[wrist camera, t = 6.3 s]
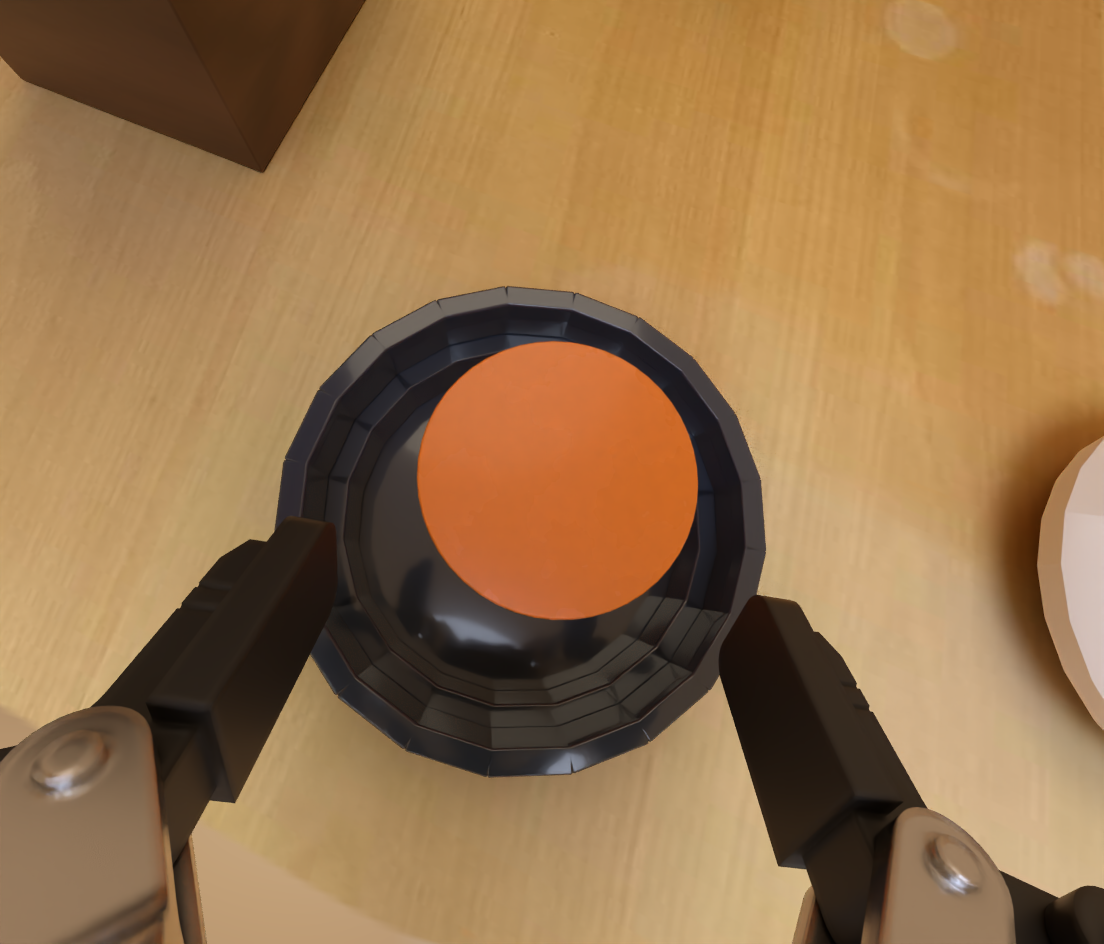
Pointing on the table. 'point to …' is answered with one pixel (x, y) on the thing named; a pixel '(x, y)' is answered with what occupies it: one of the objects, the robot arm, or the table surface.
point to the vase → (1077, 573)
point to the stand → (182, 62)
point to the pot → (470, 619)
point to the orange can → (557, 480)
